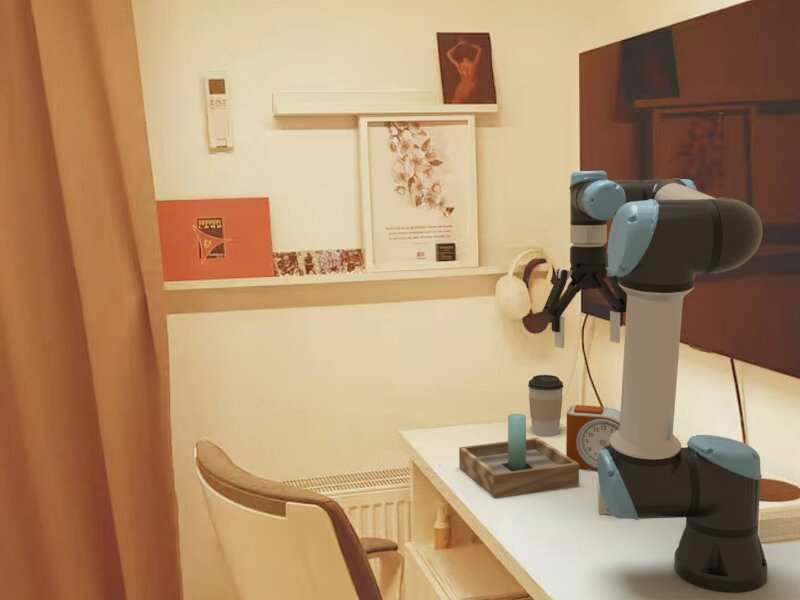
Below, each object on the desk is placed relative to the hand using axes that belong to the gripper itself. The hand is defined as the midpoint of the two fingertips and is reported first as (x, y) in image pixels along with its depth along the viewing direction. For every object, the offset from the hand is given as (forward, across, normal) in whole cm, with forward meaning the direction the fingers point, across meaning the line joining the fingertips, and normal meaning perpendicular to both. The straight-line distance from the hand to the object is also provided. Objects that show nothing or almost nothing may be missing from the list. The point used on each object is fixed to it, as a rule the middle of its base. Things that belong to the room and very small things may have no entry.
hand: (587, 344), depth 193 cm
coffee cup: (+31, -11, -38) cm, 50 cm away
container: (+32, +1, +13) cm, 35 cm away
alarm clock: (+31, -10, -10) cm, 34 cm away
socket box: (+31, +11, -11) cm, 35 cm away
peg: (+31, +11, -11) cm, 35 cm away
